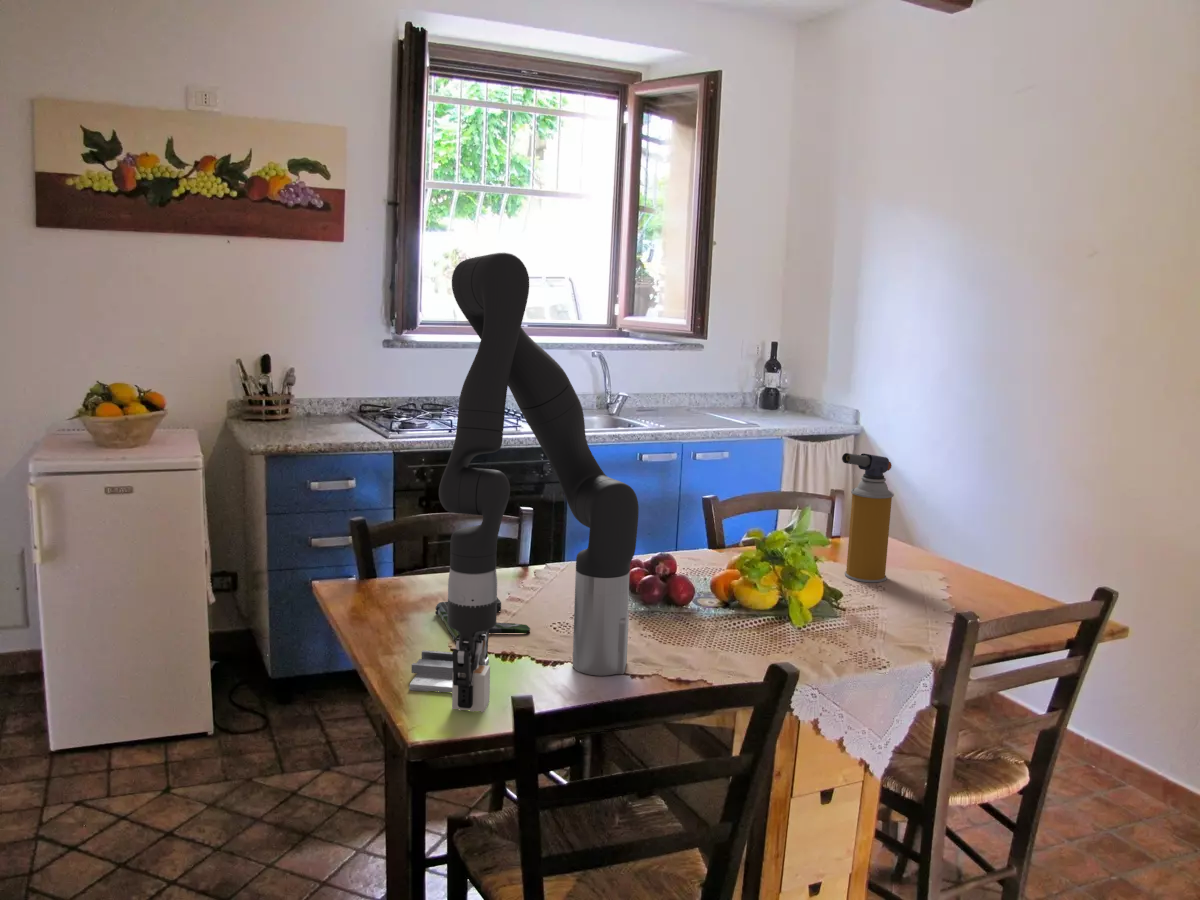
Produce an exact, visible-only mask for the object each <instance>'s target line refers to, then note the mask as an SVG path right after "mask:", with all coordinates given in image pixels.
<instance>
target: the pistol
mask: <svg viewBox="0 0 1200 900" xmlns="http://www.w3.org/2000/svg"><path fill="white" fill-rule="evenodd" d="M499 611H502V601H501V600H500V599H499V597H498V596H497V613H500V612H499ZM434 612H435V615H436V616H437V615H438V616H439V617H440V619H441V621H442V622H443V623H445V626H446V629H447V630H448V632H449V633H450V634H451V636H452V639H453V641H455V642H456V641H457V638H460V633H459V632H458V631H457V630H455V629H452V628H451V627H450V626H449V625H448V622H447V620H448V601H439V602H438V603H437V604H436V606H435V611H434ZM489 633H530V634H531V628H530V627H529V625H527V624H523V623H513V622H511V623H510V622H496V625H495V626H494V627H493V628H491V629H489Z"/></svg>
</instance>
